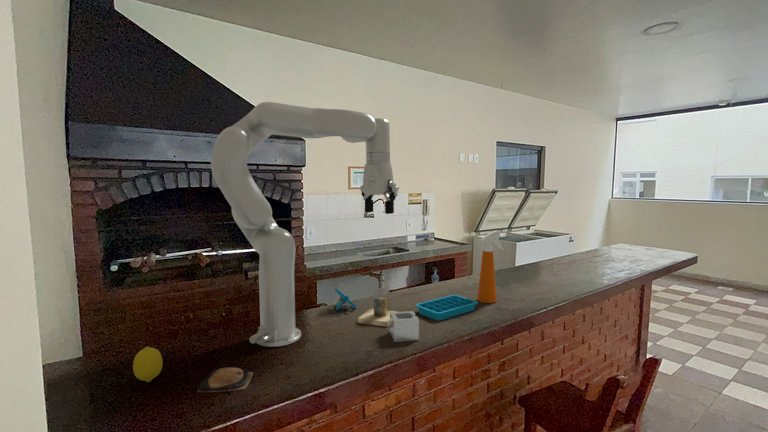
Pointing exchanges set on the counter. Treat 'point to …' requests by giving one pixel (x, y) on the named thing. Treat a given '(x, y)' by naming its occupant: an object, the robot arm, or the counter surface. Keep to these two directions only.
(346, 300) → the gear
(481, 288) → the spray bottle
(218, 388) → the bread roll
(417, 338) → the grey hollow block
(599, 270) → the counter surface
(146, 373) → the lemon
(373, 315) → the keyed post stand
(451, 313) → the ice cube tray
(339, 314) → the counter surface
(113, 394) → the counter surface
